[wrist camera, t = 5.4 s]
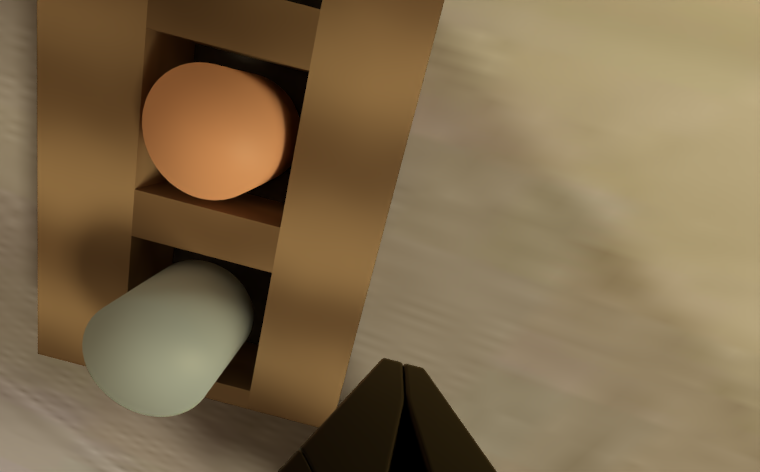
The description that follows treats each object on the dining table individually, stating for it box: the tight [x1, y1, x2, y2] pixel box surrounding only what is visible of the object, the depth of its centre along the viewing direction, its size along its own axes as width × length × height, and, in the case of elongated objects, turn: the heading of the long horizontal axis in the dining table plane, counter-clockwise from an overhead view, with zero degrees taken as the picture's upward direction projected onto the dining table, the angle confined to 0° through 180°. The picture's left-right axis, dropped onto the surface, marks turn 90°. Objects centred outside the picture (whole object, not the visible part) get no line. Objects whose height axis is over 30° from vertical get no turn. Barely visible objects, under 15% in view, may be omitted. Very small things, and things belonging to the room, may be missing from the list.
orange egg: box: [142, 62, 300, 200], centre depth 17 cm, size 5×5×4 cm
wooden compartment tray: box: [37, 0, 444, 427], centre depth 17 cm, size 24×14×4 cm, turn 166°
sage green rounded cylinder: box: [82, 260, 254, 417], centre depth 17 cm, size 5×5×4 cm
